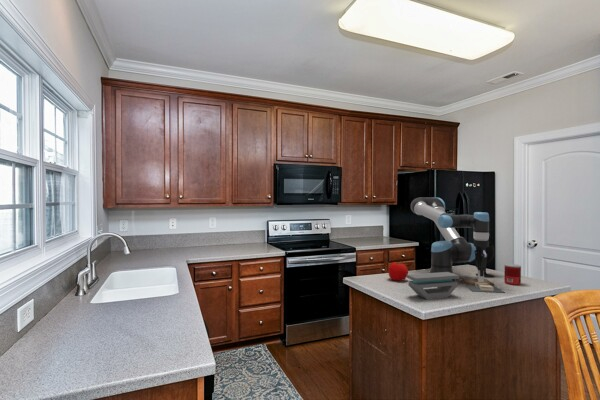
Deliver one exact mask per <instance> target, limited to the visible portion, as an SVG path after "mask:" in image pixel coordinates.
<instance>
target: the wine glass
mask: <svg viewBox="0 0 600 400" xmlns="http://www.w3.org/2000/svg"><path fill="white" fill-rule="evenodd" d="M495 251H496V250H495V247H494V245H493V244H490V243H489V247H486V254H488V257H487V264H488V263H490V262H491V261H492V260H493V259H494V257H495V254H496V253H495ZM475 276H477V277H478V272H477V273H475ZM484 278H485V279H487V278H488V279H491V278H495V275H494V274H490V273H487V269H486V270H484Z"/></svg>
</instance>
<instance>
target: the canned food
mask: <svg viewBox="0 0 600 400" xmlns="http://www.w3.org/2000/svg"><path fill="white" fill-rule="evenodd" d="M521 281H522V266H521V265H520V264H518V263H517V264H516V263H505V264H504V283H505V284H506V285H510V286H521V284H522V282H521Z"/></svg>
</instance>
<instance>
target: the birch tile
mask: <svg viewBox="0 0 600 400" xmlns="http://www.w3.org/2000/svg"><path fill="white" fill-rule="evenodd" d="M475 286H476V287H477V288H479V289H480V290H485V291H494V287H493V286H491V285H489V284H488V283H481V282H475Z"/></svg>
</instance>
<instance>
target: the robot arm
mask: <svg viewBox="0 0 600 400" xmlns="http://www.w3.org/2000/svg"><path fill="white" fill-rule="evenodd" d="M410 210H411V211H412V213H413V214H416V215H417V216H423V217H425V218H427V219H430V221H431V220H432V221H433V222H434V223H435V225H436V227H437V228H438V230H439V232H440V233H441V235H442V237H443V238H444V240H439V241H438V240H437V241H435V242H433V243H432V244H431V248H430V249H431V250H430V253H431V255H430V257H431V259H430V260H431V261H430V262H431V264H430V265H431V267H430V269H429V272H428V273H439V272H450V273H453V274H455V272H454V270H453V263H466V264H467V263H470V262H473V261H474V260H475V267H476V269H477V273H478V276H477V279H478V282H484V279H485V277H484V270H486V271H487V266H488V265H487V264H488V263H487V257H488V254H486V247H489V244H490V241H489V239H490V238H489V237H490V215H489V214H490V213H488V212H481V211H475V212H473V214H450V213H448V212H446V203H445V201H444V200H443V199H442V198H440V197H434V196H433V197H432V196H431V197H428V196H427V197H416V198H414V199H413V200H412V201H411V203H410ZM456 228H459V229H460V228H463V229H465V228H469V229H470V228H471V229H473V237H472V238H473V243H472V242H468V241H467V240H466V239H465V237H463V236H460V233H458V231H457V230H456ZM452 280H453V281H455V282H456V279H452Z"/></svg>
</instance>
